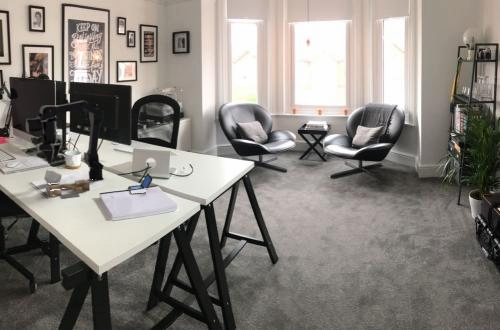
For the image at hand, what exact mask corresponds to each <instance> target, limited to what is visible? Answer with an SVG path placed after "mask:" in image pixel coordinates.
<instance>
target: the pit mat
mask: <svg viewBox="0 0 500 330" xmlns="http://www.w3.org/2000/svg"><path fill="white" fill-rule="evenodd" d="M77 197H78V198H79V197H80V193H76V192H73V193H72V192H71V193H66V194H65V193H64V194H62V195H60V198H61V199H70V198H71V199H72V198H77Z"/></svg>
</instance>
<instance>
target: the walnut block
mask: <svg viewBox="0 0 500 330" xmlns="http://www.w3.org/2000/svg"><path fill="white" fill-rule="evenodd" d="M74 183H75V188H74V189H75V190H76V188H79V187H82V192H86V191H88V192H89V191H91V190H90V189H91V188H90V181H89V180H88V179H79V180H74Z"/></svg>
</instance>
